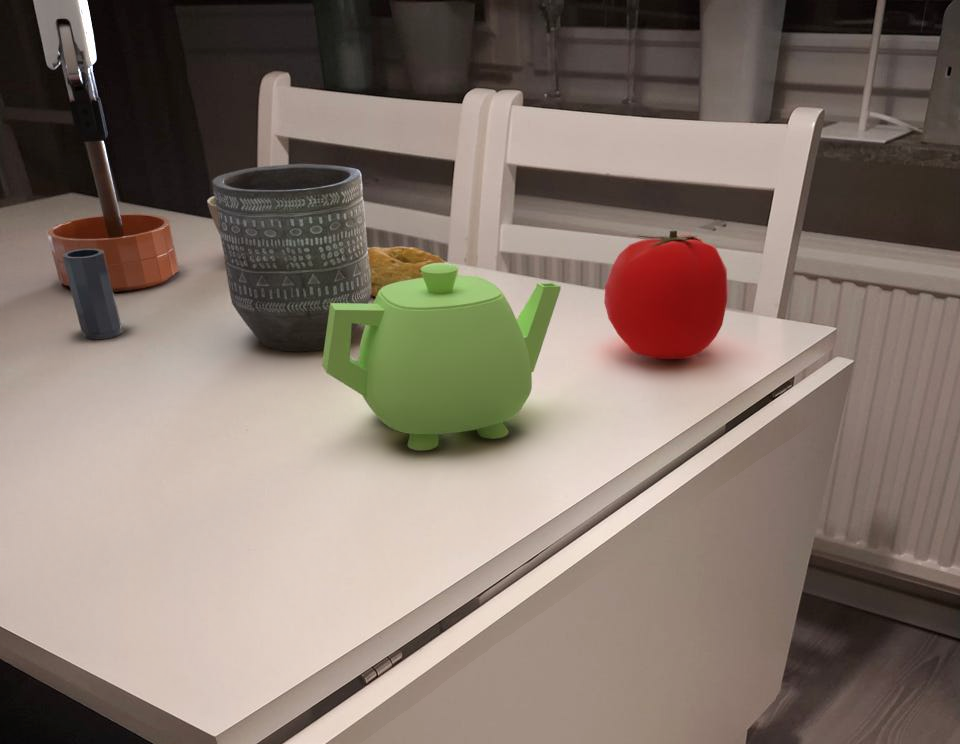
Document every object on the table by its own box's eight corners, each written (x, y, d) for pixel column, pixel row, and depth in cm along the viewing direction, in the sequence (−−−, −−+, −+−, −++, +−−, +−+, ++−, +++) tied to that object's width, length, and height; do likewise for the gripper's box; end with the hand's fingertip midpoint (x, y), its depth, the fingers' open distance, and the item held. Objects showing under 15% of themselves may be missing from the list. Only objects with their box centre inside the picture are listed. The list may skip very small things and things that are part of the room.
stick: (111, 255, 125) (71, 84, 114) (112, 251, 126) (72, 82, 115) (128, 254, 125) (89, 83, 114) (128, 250, 127) (90, 81, 115)
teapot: (526, 383, 92) (527, 234, 85) (589, 434, 82) (597, 271, 75) (314, 415, 87) (294, 260, 79) (353, 475, 77) (335, 303, 69)
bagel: (414, 308, 112) (411, 262, 109) (342, 294, 117) (337, 250, 114) (468, 288, 118) (467, 244, 115) (397, 275, 123) (394, 232, 121)
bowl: (56, 299, 118) (41, 244, 115) (66, 269, 129) (53, 218, 126) (179, 288, 121) (168, 234, 117) (178, 260, 132) (169, 210, 128)
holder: (82, 341, 105) (60, 259, 100) (84, 329, 109) (64, 250, 104) (121, 337, 106) (102, 256, 101) (123, 326, 109) (104, 247, 104)
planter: (211, 339, 105) (181, 178, 96) (319, 309, 113) (301, 158, 103) (293, 369, 97) (269, 197, 88) (403, 334, 105) (392, 173, 95)
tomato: (703, 380, 92) (718, 249, 85) (585, 365, 96) (590, 238, 89) (734, 341, 100) (750, 219, 94) (624, 329, 104) (632, 211, 97)
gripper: (20, -58, 112) (66, 131, 123) (1, -60, 100) (53, 151, 111) (90, -60, 113) (129, 128, 125) (80, -61, 101) (123, 147, 113)
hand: (93, 137), depth 118 cm, fingers closed on stick, 2 cm apart
